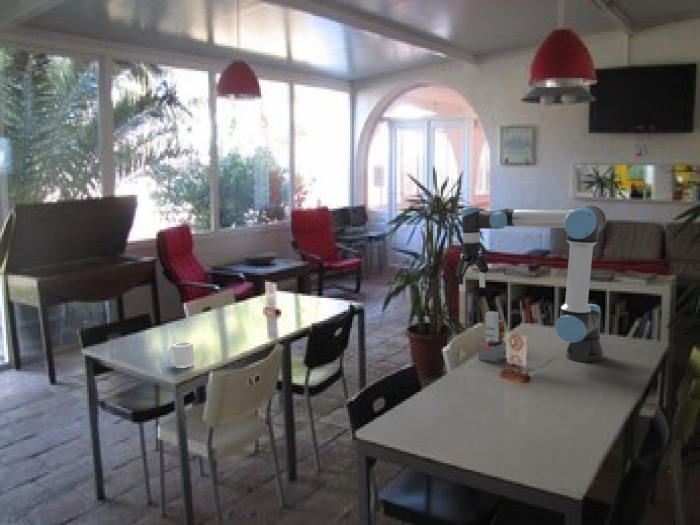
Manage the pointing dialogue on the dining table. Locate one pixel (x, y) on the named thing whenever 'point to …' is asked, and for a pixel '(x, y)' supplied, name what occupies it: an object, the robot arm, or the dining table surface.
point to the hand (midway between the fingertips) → (472, 289)
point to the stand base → (492, 352)
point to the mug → (501, 330)
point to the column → (492, 328)
